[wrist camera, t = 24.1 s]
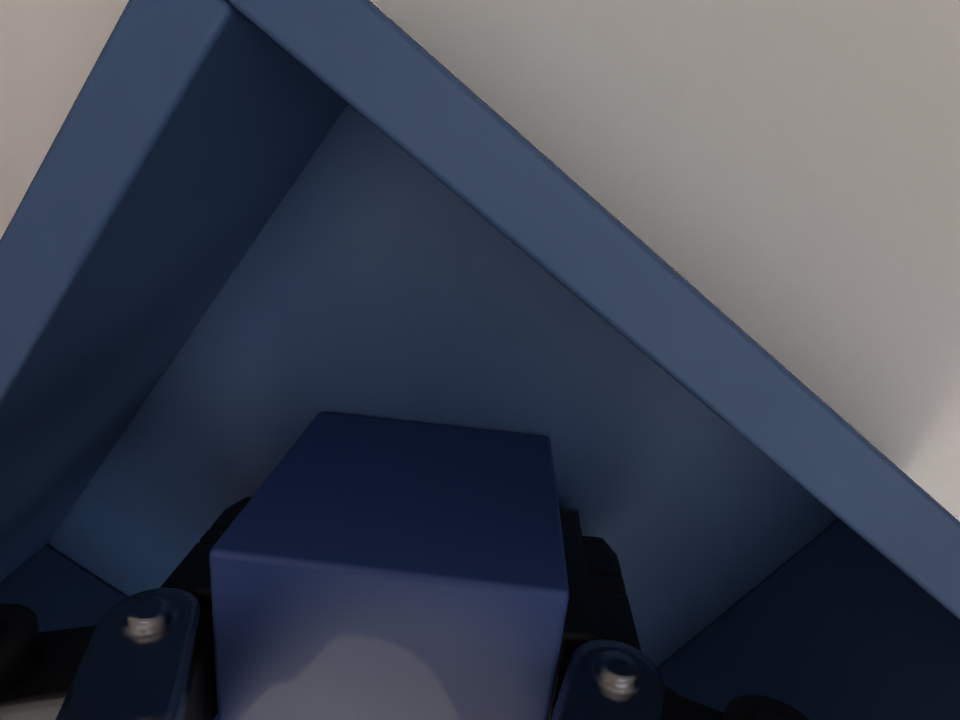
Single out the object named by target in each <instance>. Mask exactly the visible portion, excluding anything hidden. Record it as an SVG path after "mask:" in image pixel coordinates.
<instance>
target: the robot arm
mask: <svg viewBox="0 0 960 720" xmlns="http://www.w3.org/2000/svg"><path fill="white" fill-rule="evenodd" d="M251 498H252V497H245V498H244V499H242V500H240V501H239V502H237V503H235V504H233V505H232V506H230V507H228V508H227V509H225V510H224V511H223V512H222V514H221V515H220V516H219V517H218V518H217V520H216V521H215V522H214V523H213V524H212V526H211V529H208V530H207V532H206V533H205V534H204V535H203V536H202V538H201V539H200V542H199V543H197V544H196V545H195V546H194V547H193V548H192V550H191V551H190V552H189V553H188V554H187V556H186V557H185V558H184V559H183V560H182V562H181V563H180V564H179V565H178V566H177V568H176V569H175V570H174V571H173V572H172V574H171V575H170V576H169V577H168V578H167V580H166V581H165V582H164V583H163V584H162V586H161V587H160V588H157V589H150V590H146V591H142V592H139V593H136V594H133V595H131V596H129V597H126V598H125V599H123V600H121V601H119V602H118V603H116V604H115V605H113V606H112V607H111V608H110V609H109V610H107V611H106V612H105V613H104V615H103V616H102V617H101V618H100V620H99V622H98V624H97V625H92V626H86V627H78V628H70V629H61V630H53V631H44V632H39V626H38V620H37V616H36V614H35V612H34V611H33V610H32V609H30V608H28V607H26V606H23V605H20V604H12V603H3V604H0V720H214V719H215V717H216V715H217V713H218V709H217V690H216V672H215V653H214V635H213V616H212V597H211V579H210V560H209V555H210V551H211V549H212V548H213V546H214V545H215V544H216V542H217V541H218V540H219V539H220V537H221V536H222V535H223V534H224V532H225V531H226V530H227V528H228V527H229V526H230V525H231V523H232V522H233V521H234V520H235V518H236V517H237V516H238V515H239V513H240V512H241V511H242V509H243V508H244V507H245V506H246V504H247V503H248V502H249V501H250V499H251ZM559 511H560V519H561V528H562V536H563V545H564V553H565V562H566V570H567V579H568V587H569V601H568V607H567V613H566V619H565V625H564V631H563V636H562V642H561V648H560V654H559V660H558V666H557V672H556V678H555V684H554V690H553V696H552V702H551V708H550V714H549V719H548V720H810V719H809V718H807V717H806V716H805V715H804V714H802V713H801V712H799V711H798V710H797V709H795V708H793V707H792V706H790V705H788V704H786V703H784V702H782V701H780V700H777V699H774V698H771V697H767V696H763V695H755V694H750V695H742V696H739V697H736V698H734V699H733V700H732V701H730V702H729V703H728V705H727V706H726V708H725V712H724V713H723V712H720V711H718V710H715V709H713V708H710V707H707V706H705V705H702V704H700V703H697V702H694V701H692V700H690V699H687V698H685V697H683V696H681V695H679V694H678V693H676V692H674V691H673V690H671V689H670V688H668V687H667V686H666V685H664V681H663V677H662V675H661V673H660V671H659V670H658V668H657V666H656V665H655V664H654V663H653V662H652V661H651V660H650V659H649V658H648V657H647V656H646V655H645V654H643V653H642V652H641V648H640V644H639V640H638V636H637V632H636V628H635V624H634V620H633V616H632V612H631V608H630V604H629V600H628V596H627V594H626V588H625V584H624V580H623V578H622V572H621V568H620V564H619V560H618V556H617V554H616V553H615V552H614V551H613V550H612V548H611V547H610V546H609V545H608V544H607V543H606V541H605V540H604V539H603V538H600V537H591V536H582V530H581V524H580V518H579V513H578V510H577V509H568V508H559Z"/></svg>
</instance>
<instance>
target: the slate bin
mask: <svg viewBox="0 0 960 720" xmlns="http://www.w3.org/2000/svg"><path fill="white" fill-rule="evenodd" d="M320 412H328V413H337V414H346V415H355V416H364V417H373V418H382V419H391V420H400V421H409V422H418V423H427V424H436V425H445V426H454V427H463V428H472V429H482V430H491V431H500V432H509V433H518V434H527V435H536V436H545V437H548V438H550V439H551V443H552V452H553V460H554V469H555V477H556V486H557V494H558V503H559V508H568V509H577V510H578V513H579V518H580V524H581V530H582V536H591V537H600V538H603V539H604V540H605V541H606V543H607V544H608V545H609V546H610V547H611V548H612V550H613V551H614V552H615V553H616V554H617V556H618V560H619V564H620V568H621V572H622V578H623V580H624V584H625V588H626V594H627V596H628V600H629V604H630V608H631V612H632V616H633V620H634V624H635V628H636V632H637V636H638V640H639V644H640V648H641V652H642V653H643V654H645V655H646V656H647V657H648V658H649V659H650V660H651V661H652V662H653V663H654V664H655V665H656V666H657V668H658V670H659V671H660V673H661V675H662V677H663V681H664V685H666V686H667V687H668V688H670V689H671V690H673V691H674V692H676V693H678V694H679V695H681V696H683V697H685V698H687V699H690V700H692V701H694V702H697V703H700V704H702V705H705V706H707V707H710V708H713V709H715V710H718V711H720V712H723V713H724V712H725V708H726V706H727V705H728V703H729V702H730V701H732V700H733V699H734V698H736V697H739V696H742V695H750V694H755V695H763V696H767V697H771V698H774V699H777V700H780V701H782V702H784V703H786V704H788V705H790V706H792V707H793V708H795V709H797V710H798V711H799V712H801V713H802V714H804V715H805V716H806V717H807V718H809V719H810V720H960V522H959V521H958V520H957V519H956V518H955V517H954V516H952V515H951V514H950V513H949V512H948V511H947V510H946V509H944V508H943V507H942V506H941V505H940V504H939V503H938V502H937V501H935V500H934V499H933V498H932V497H931V496H930V495H929V494H927V493H926V492H925V491H924V490H923V489H922V488H921V487H920V486H918V485H917V484H916V483H915V482H914V481H913V480H912V479H911V478H909V477H908V476H907V475H906V474H905V473H904V472H903V471H901V470H900V469H899V468H898V467H897V466H896V465H895V464H894V463H892V462H891V461H890V460H889V459H888V458H887V457H886V456H884V455H883V454H882V453H881V452H880V451H879V450H878V449H877V448H875V447H874V446H873V445H872V444H871V443H870V442H869V441H867V440H866V439H865V438H864V437H863V436H862V435H861V434H860V433H858V432H857V431H856V430H855V429H854V428H853V427H852V426H850V425H849V424H848V423H847V422H846V421H845V420H844V419H843V418H841V417H840V416H839V415H838V414H837V413H836V412H835V411H833V410H832V409H831V408H830V407H829V406H828V405H827V404H826V403H824V402H823V401H822V400H821V399H820V398H819V397H818V396H816V395H815V394H814V393H813V392H812V391H811V390H810V389H809V388H807V387H806V386H805V385H804V384H803V383H802V382H801V381H800V380H798V379H797V378H796V377H795V376H794V375H793V374H792V373H790V372H789V371H788V370H787V369H786V368H785V367H784V366H783V365H781V364H780V363H779V362H778V361H777V360H776V359H775V358H773V357H772V356H771V355H770V354H769V353H768V352H767V351H766V350H764V349H763V348H762V347H761V346H760V345H759V344H758V343H756V342H755V341H754V340H753V339H752V338H751V337H750V336H749V335H747V334H746V333H745V332H744V331H743V330H742V329H741V328H739V327H738V326H737V325H736V324H735V323H734V322H733V321H732V320H730V319H729V318H728V317H727V316H726V315H725V314H724V313H722V312H721V311H720V310H719V309H718V308H717V307H716V306H715V305H713V304H712V303H711V302H710V301H709V300H708V299H707V298H706V297H704V296H703V295H702V294H701V293H700V292H699V291H698V290H696V289H695V288H694V287H693V286H692V285H691V284H690V283H689V282H687V281H686V280H685V279H684V278H683V277H682V276H681V275H679V274H678V273H677V272H676V271H675V270H674V269H673V268H672V267H670V266H669V265H668V264H667V263H666V262H665V261H664V260H662V259H661V258H660V257H659V256H658V255H657V254H656V253H655V252H653V251H652V250H651V249H650V248H649V247H648V246H647V245H645V244H644V243H643V242H642V241H641V240H640V239H639V238H638V237H636V236H635V235H634V234H633V233H632V232H631V231H630V230H628V229H627V228H626V227H625V226H624V225H623V224H622V223H621V222H619V221H618V220H617V219H616V218H615V217H614V216H613V215H611V214H610V213H609V212H608V211H607V210H606V209H605V208H604V207H602V206H601V205H600V204H599V203H598V202H597V201H596V200H595V199H593V198H592V197H591V196H590V195H589V194H588V193H587V192H585V191H584V190H583V189H582V188H581V187H580V186H579V185H578V184H576V183H575V182H574V181H573V180H572V179H571V178H570V177H568V176H567V175H566V174H565V173H564V172H563V171H562V170H561V169H559V168H558V167H557V166H556V165H555V164H554V163H553V162H551V161H550V160H549V159H548V158H547V157H546V156H545V155H544V154H542V153H541V152H540V151H539V150H538V149H537V148H536V147H534V146H533V145H532V144H531V143H530V142H529V141H528V140H527V139H525V138H524V137H523V136H522V135H521V134H520V133H519V132H517V131H516V130H515V129H514V128H513V127H512V126H511V125H510V124H508V123H507V122H506V121H505V120H504V119H503V118H502V117H500V116H499V115H498V114H497V113H496V112H495V111H494V110H493V109H491V108H490V107H489V106H488V105H487V104H486V103H485V102H484V101H482V100H481V99H480V98H479V97H478V96H477V95H476V94H474V93H473V92H472V91H471V90H470V89H469V88H468V87H467V86H465V85H464V84H463V83H462V82H461V81H460V80H459V79H457V78H456V77H455V76H454V75H453V74H452V73H451V72H450V71H448V70H447V69H446V68H445V67H444V66H443V65H442V64H440V63H439V62H438V61H437V60H436V59H435V58H434V57H433V56H431V55H430V54H429V53H428V52H427V51H426V50H425V49H423V48H422V47H421V46H420V45H419V44H418V43H417V42H416V41H414V40H413V39H412V38H411V37H410V36H409V35H408V34H406V33H405V32H404V31H403V30H402V29H401V28H400V27H399V26H397V25H396V24H395V23H394V22H393V21H392V20H391V19H389V18H388V17H387V16H386V15H385V14H384V13H383V12H382V11H380V10H379V9H378V8H377V7H376V6H375V5H374V4H373V3H371V2H370V1H369V0H129V2H128V4H127V5H126V7H125V9H124V11H123V13H122V15H121V17H120V18H119V20H118V22H117V24H116V26H115V28H114V30H113V31H112V33H111V35H110V37H109V39H108V41H107V43H106V45H105V46H104V48H103V50H102V52H101V54H100V56H99V58H98V59H97V61H96V63H95V65H94V67H93V69H92V71H91V72H90V74H89V76H88V78H87V80H86V82H85V84H84V86H83V87H82V89H81V91H80V93H79V95H78V97H77V99H76V100H75V102H74V104H73V106H72V108H71V110H70V112H69V113H68V115H67V117H66V119H65V121H64V123H63V125H62V127H61V128H60V130H59V132H58V134H57V136H56V138H55V140H54V141H53V143H52V145H51V147H50V149H49V151H48V153H47V155H46V156H45V158H44V160H43V162H42V164H41V166H40V168H39V169H38V171H37V173H36V175H35V177H34V179H33V181H32V182H31V184H30V186H29V188H28V190H27V192H26V194H25V196H24V197H23V199H22V201H21V203H20V205H19V207H18V209H17V210H16V212H15V214H14V216H13V218H12V220H11V222H10V223H9V225H8V227H7V229H6V231H5V233H4V235H3V237H2V238H1V240H0V604H3V603H12V604H20V605H23V606H26V607H28V608H30V609H32V610H33V611H34V612H35V614H36V616H37V620H38V626H39V632H44V631H53V630H61V629H70V628H78V627H86V626H92V625H97V624H98V622H99V620H100V618H101V617H102V616H103V615H104V613H105V612H106V611H107V610H109V609H110V608H111V607H112V606H113V605H115V604H116V603H118V602H119V601H121V600H123V599H125V598H126V597H129V596H131V595H133V594H136V593H139V592H142V591H146V590H150V589H157V588H160V587H161V586H162V584H163V583H164V582H165V581H166V580H167V578H168V577H169V576H170V575H171V574H172V572H173V571H174V570H175V569H176V568H177V566H178V565H179V564H180V563H181V562H182V560H183V559H184V558H185V557H186V556H187V554H188V553H189V552H190V551H191V550H192V548H193V547H194V546H195V545H196V544H197V543H199V542H200V539H201V538H202V536H203V535H204V534H205V533H206V532H207V530H208V529H211V526H212V524H213V523H214V522H215V521H216V520H217V518H218V517H219V516H220V515H221V514H222V512H223V511H224V510H225V509H227V508H228V507H230V506H232V505H233V504H235V503H237V502H239V501H240V500H242V499H244V498H245V497H253V495H254V494H255V493H256V492H257V490H258V489H259V488H260V487H261V485H262V484H263V483H264V481H265V480H266V479H267V478H268V476H269V475H270V474H271V473H272V471H273V470H274V469H275V468H276V466H277V465H278V464H279V462H280V461H281V460H282V459H283V457H284V456H285V455H286V454H287V452H288V451H289V450H290V448H291V447H292V446H293V445H294V443H295V442H296V441H297V440H298V438H299V437H300V436H301V434H302V433H303V432H304V431H305V429H306V428H307V427H308V426H309V424H310V423H311V422H312V421H313V419H314V418H315V417H316V415H317V414H318V413H320ZM214 720H218V713H217V715H216V717H215V719H214Z"/></svg>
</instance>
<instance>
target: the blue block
mask: <svg viewBox="0 0 960 720" xmlns="http://www.w3.org/2000/svg"><path fill="white" fill-rule="evenodd" d="M209 560H210V579H211V597H212V616H213V635H214V653H215V672H216V690H217V709H218V720H548V719H549V714H550V708H551V702H552V696H553V690H554V684H555V678H556V672H557V666H558V660H559V654H560V648H561V642H562V636H563V631H564V625H565V619H566V613H567V607H568V601H569V587H568V579H567V570H566V562H565V553H564V545H563V536H562V528H561V519H560V511H559V503H558V494H557V486H556V477H555V469H554V460H553V452H552V443H551V439H550V438H548V437H545V436H536V435H527V434H518V433H509V432H500V431H491V430H482V429H472V428H463V427H454V426H445V425H436V424H427V423H418V422H409V421H400V420H391V419H382V418H373V417H364V416H355V415H346V414H337V413H328V412H320V413H318V414H317V415H316V417H315V418H314V419H313V421H312V422H311V423H310V424H309V426H308V427H307V428H306V429H305V431H304V432H303V433H302V434H301V436H300V437H299V438H298V440H297V441H296V442H295V443H294V445H293V446H292V447H291V448H290V450H289V451H288V452H287V454H286V455H285V456H284V457H283V459H282V460H281V461H280V462H279V464H278V465H277V466H276V468H275V469H274V470H273V471H272V473H271V474H270V475H269V476H268V478H267V479H266V480H265V481H264V483H263V484H262V485H261V487H260V488H259V489H258V490H257V492H256V493H255V494H254V495H253V497H252V498H251V499H250V501H249V502H248V503H247V504H246V506H245V507H244V508H243V509H242V511H241V512H240V513H239V515H238V516H237V517H236V518H235V520H234V521H233V522H232V523H231V525H230V526H229V527H228V528H227V530H226V531H225V532H224V534H223V535H222V536H221V537H220V539H219V540H218V541H217V542H216V544H215V545H214V546H213V548H212V549H211V551H210V555H209Z"/></svg>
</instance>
